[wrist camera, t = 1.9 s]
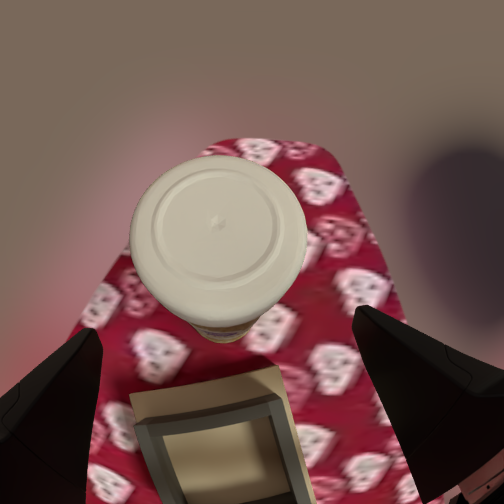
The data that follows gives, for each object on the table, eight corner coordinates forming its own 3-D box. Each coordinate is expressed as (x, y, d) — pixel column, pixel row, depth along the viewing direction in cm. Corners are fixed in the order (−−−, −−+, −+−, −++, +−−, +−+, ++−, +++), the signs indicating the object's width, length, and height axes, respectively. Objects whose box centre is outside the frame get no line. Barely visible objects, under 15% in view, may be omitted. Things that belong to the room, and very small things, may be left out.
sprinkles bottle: (197, 348, 18) (132, 334, 6) (185, 284, 20) (123, 164, 7) (263, 336, 19) (335, 295, 6) (249, 273, 20) (283, 140, 8)
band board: (313, 501, 14) (328, 522, 11) (184, 526, 13) (177, 551, 9) (275, 364, 18) (286, 366, 15) (134, 392, 16) (115, 399, 13)
